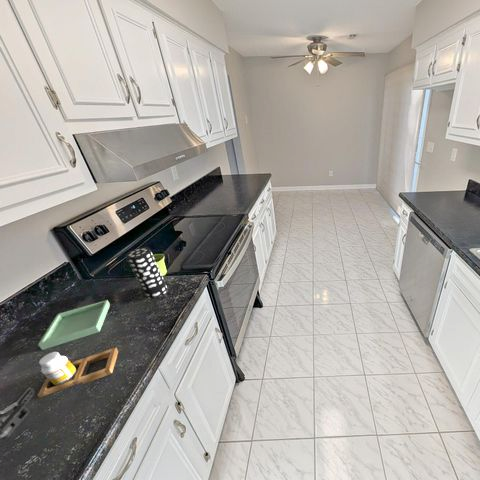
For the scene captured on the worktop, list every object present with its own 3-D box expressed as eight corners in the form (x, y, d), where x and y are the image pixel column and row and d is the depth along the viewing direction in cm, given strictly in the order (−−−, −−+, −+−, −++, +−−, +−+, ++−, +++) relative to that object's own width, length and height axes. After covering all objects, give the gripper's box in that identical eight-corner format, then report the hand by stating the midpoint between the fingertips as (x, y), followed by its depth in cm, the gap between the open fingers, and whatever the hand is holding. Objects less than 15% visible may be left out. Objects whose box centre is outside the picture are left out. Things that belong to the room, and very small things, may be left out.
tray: (42, 350, 85) (37, 344, 84) (61, 318, 98) (57, 313, 97) (99, 331, 91) (96, 326, 89) (110, 304, 103) (107, 299, 102)
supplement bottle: (70, 369, 78) (52, 348, 73) (83, 372, 76) (66, 350, 72) (50, 386, 73) (29, 365, 68) (64, 389, 72) (44, 367, 67)
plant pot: (144, 278, 119) (136, 262, 115) (162, 267, 126) (155, 252, 122) (156, 282, 115) (149, 266, 111) (174, 271, 123) (168, 255, 118)
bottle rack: (41, 400, 70) (37, 395, 69) (54, 373, 77) (51, 369, 76) (112, 373, 75) (109, 369, 74) (118, 351, 82) (115, 347, 81)
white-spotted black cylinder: (158, 299, 104) (138, 258, 95) (141, 298, 106) (120, 257, 96) (171, 286, 111) (155, 247, 102) (155, 285, 113) (137, 246, 103)
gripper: (-39, 461, 45) (35, 376, 59) (-135, 482, 43) (-36, 390, 57) (-10, 479, 48) (53, 395, 63) (-98, 500, 47) (-13, 409, 61)
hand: (10, 393), depth 60 cm, fingers open, 8 cm apart
